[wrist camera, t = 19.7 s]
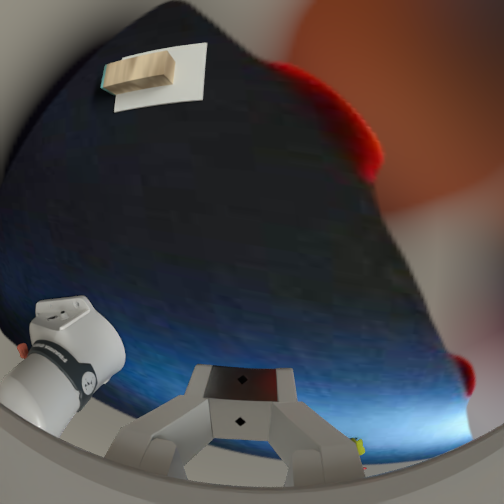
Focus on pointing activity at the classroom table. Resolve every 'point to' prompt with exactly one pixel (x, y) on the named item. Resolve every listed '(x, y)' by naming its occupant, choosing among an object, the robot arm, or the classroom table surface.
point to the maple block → (139, 73)
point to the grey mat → (184, 83)
